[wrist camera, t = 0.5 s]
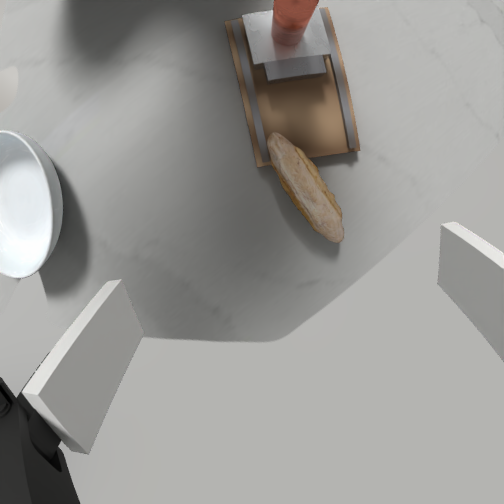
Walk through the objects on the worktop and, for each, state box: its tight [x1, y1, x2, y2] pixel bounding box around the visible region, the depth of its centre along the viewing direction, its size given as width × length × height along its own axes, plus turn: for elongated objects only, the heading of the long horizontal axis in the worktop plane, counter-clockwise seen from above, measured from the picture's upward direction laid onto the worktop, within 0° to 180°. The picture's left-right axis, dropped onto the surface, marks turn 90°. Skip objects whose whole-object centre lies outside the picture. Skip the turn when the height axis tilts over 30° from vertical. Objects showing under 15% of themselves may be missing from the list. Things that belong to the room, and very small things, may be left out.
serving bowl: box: [0, 130, 63, 278], centre depth 34 cm, size 21×21×7 cm
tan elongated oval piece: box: [267, 132, 344, 243], centre depth 33 cm, size 5×14×4 cm
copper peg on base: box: [242, 0, 332, 85], centre depth 22 cm, size 8×8×13 cm
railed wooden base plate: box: [224, 7, 360, 167], centre depth 30 cm, size 18×12×2 cm, turn 12°
